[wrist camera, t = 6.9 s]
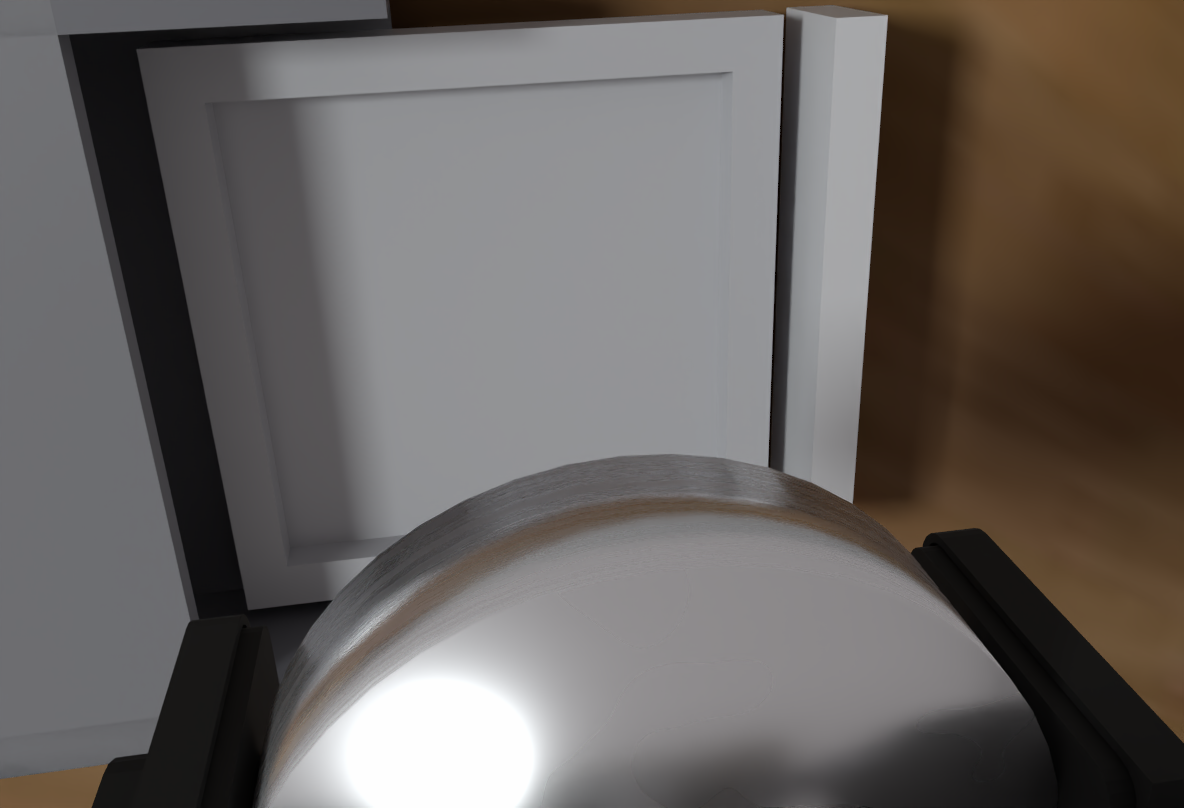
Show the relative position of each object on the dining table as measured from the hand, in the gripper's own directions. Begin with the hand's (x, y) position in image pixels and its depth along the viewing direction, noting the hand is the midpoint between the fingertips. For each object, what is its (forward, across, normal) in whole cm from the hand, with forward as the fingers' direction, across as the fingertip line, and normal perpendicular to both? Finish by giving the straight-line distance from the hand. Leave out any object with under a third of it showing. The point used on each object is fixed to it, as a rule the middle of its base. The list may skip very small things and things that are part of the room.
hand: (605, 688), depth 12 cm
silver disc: (-1, 0, 0) cm, 1 cm away
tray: (+13, -1, 0) cm, 13 cm away
